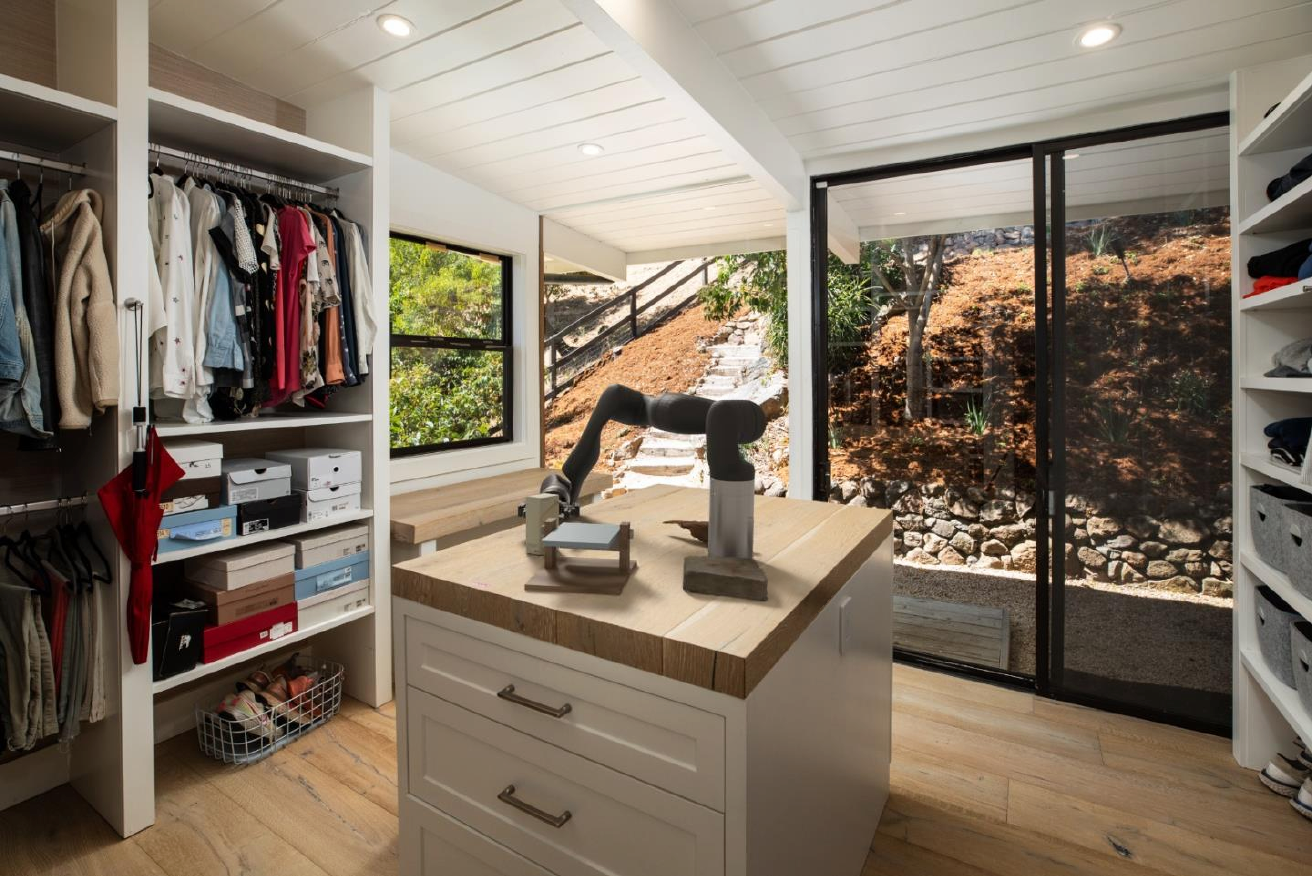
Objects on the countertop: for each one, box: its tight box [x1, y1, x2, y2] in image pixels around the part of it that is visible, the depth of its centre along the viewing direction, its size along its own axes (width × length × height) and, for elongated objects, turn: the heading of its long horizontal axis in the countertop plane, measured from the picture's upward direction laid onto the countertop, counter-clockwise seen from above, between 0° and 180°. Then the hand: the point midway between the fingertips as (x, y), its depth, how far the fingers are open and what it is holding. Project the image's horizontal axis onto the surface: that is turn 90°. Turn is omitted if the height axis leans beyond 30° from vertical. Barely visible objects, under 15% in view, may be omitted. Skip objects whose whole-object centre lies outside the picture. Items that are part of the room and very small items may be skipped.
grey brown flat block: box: [682, 555, 769, 602], centre depth 124 cm, size 17×15×4 cm
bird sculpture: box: [662, 519, 755, 544], centre depth 156 cm, size 7×25×5 cm, turn 54°
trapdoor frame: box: [523, 518, 638, 596], centre depth 127 cm, size 19×18×10 cm
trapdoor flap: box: [541, 522, 620, 552], centre depth 127 cm, size 15×12×4 cm
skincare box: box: [525, 493, 560, 556], centre depth 145 cm, size 6×4×12 cm
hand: (546, 515), depth 152 cm, fingers open, 8 cm apart
